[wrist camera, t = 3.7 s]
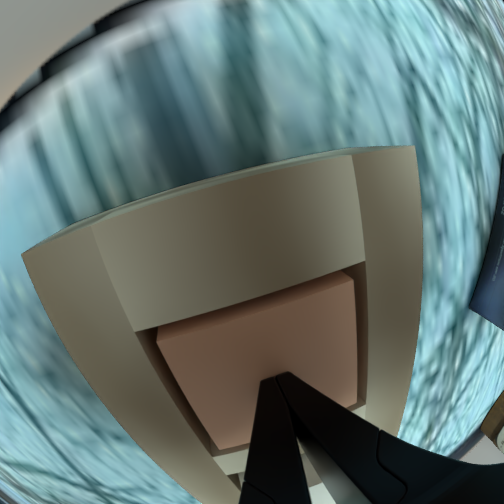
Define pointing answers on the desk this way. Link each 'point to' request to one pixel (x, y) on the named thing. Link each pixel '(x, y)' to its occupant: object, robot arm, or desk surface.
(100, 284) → the keypad housing
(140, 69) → the desk surface
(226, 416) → the key terracotta
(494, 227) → the small box
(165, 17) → the desk surface
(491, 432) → the wooden container
